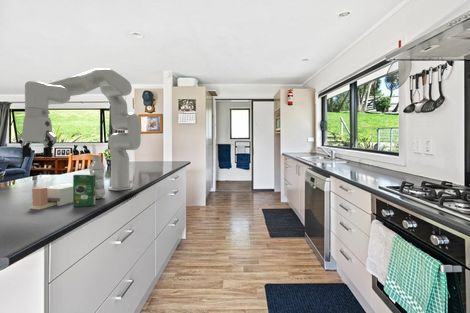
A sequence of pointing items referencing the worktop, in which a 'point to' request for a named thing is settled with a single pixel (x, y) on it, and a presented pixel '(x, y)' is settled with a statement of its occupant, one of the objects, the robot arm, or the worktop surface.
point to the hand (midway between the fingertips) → (37, 157)
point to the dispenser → (60, 193)
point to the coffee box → (83, 190)
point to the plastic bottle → (98, 176)
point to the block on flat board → (41, 198)
